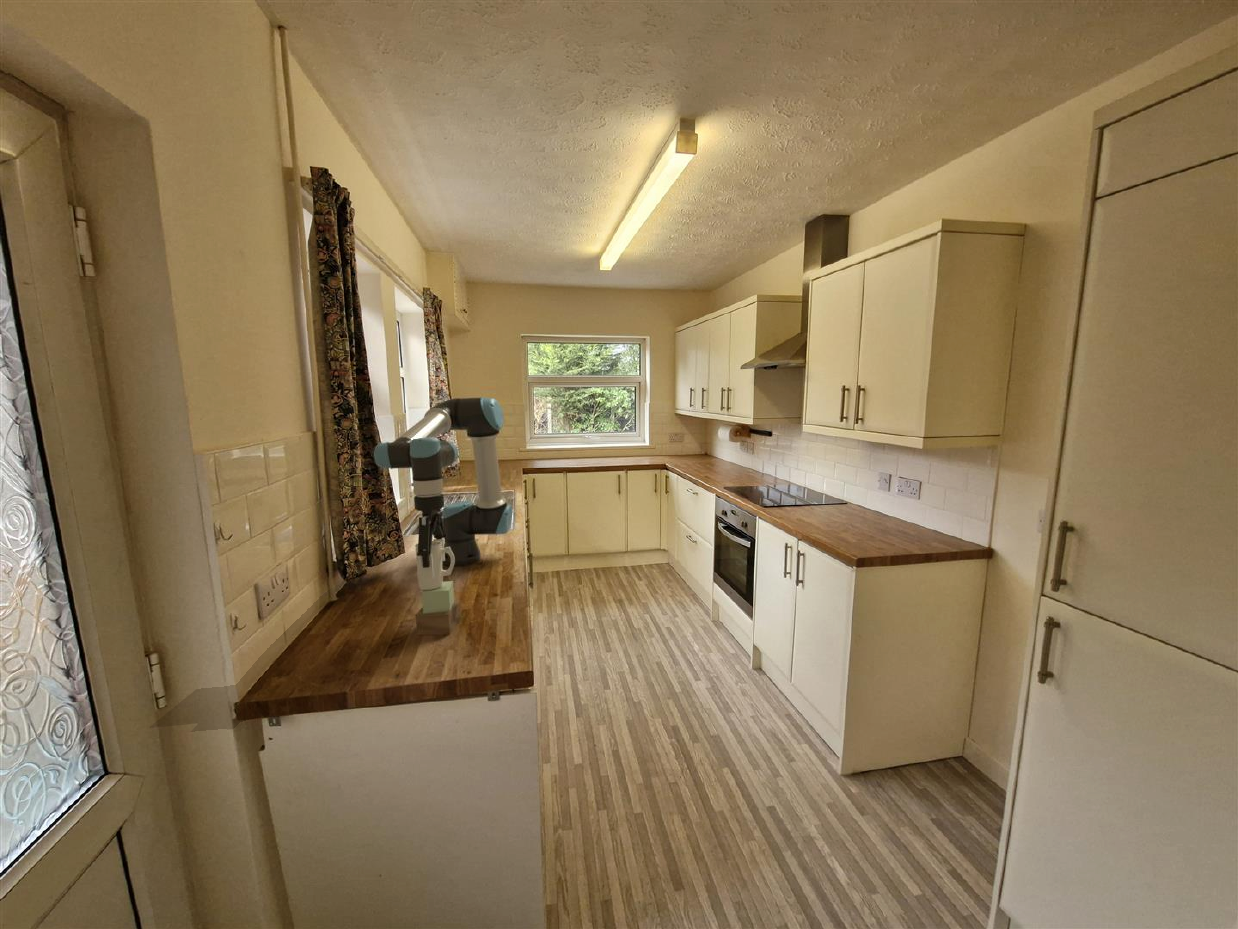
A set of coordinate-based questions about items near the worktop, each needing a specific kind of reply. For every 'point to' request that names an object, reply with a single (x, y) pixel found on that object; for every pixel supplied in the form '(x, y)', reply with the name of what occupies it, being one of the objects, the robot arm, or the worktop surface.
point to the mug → (434, 566)
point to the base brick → (438, 621)
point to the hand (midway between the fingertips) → (434, 569)
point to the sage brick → (438, 598)
